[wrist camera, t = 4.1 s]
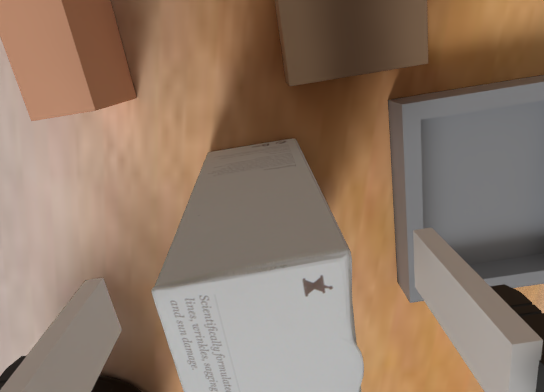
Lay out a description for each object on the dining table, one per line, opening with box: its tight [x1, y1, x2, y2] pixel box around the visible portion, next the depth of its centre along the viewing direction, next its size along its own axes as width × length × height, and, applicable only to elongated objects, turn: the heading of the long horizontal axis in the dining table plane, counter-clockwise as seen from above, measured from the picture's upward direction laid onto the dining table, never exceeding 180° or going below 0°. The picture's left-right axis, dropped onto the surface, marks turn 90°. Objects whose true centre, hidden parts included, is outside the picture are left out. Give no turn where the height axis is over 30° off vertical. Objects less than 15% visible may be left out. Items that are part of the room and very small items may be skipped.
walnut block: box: [274, 0, 428, 86], centre depth 20 cm, size 7×7×4 cm
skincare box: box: [152, 138, 364, 392], centre depth 18 cm, size 8×6×15 cm
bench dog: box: [0, 0, 137, 121], centre depth 19 cm, size 3×6×6 cm, turn 9°
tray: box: [388, 75, 544, 303], centre depth 24 cm, size 11×13×2 cm
